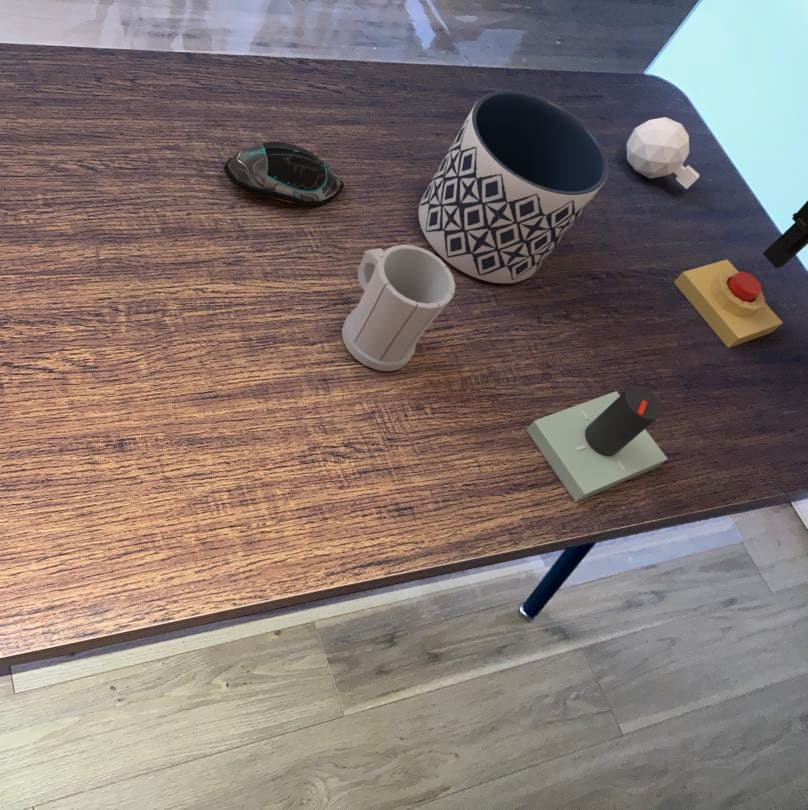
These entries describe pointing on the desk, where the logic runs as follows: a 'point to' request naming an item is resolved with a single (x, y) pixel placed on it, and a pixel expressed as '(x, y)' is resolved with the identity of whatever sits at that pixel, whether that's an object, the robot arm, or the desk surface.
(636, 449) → the control panel
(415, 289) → the cup
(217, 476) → the desk surface
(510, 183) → the planter
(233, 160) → the computer mouse
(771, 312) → the power box
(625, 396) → the dial
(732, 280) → the power button
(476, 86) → the desk surface
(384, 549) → the desk surface
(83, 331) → the desk surface
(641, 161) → the perfume bottle
